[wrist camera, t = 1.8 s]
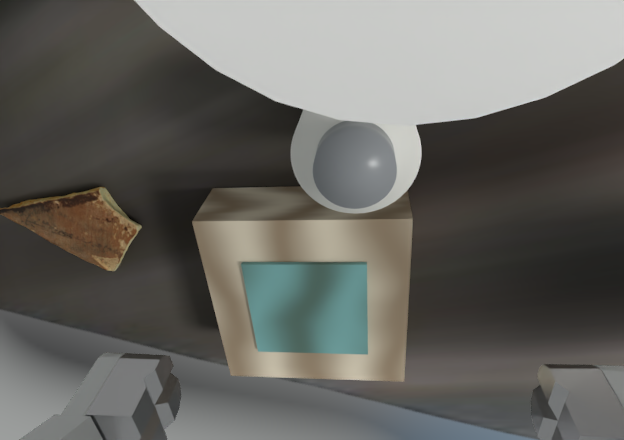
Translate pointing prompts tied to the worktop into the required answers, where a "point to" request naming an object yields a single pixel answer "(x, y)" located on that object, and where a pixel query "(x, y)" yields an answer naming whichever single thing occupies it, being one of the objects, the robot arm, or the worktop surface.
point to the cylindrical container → (399, 51)
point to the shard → (80, 225)
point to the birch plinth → (307, 284)
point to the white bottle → (354, 162)
